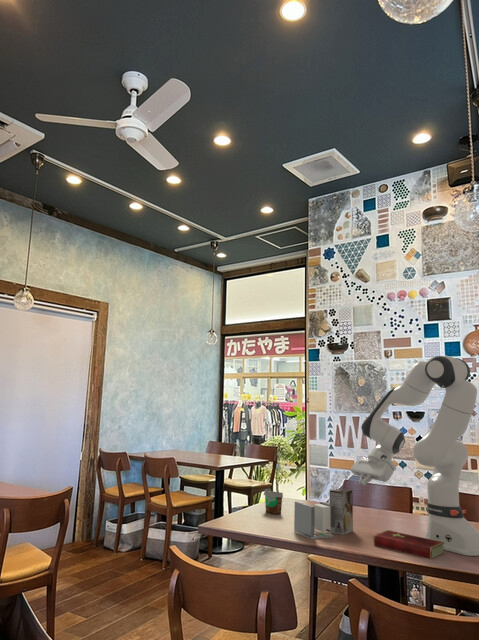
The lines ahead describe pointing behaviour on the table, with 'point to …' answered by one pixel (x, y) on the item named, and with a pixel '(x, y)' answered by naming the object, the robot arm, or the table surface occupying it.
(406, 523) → the table surface
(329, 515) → the block
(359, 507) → the table surface
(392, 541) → the hardcover book
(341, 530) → the coffee box
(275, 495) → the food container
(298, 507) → the gauge housing
